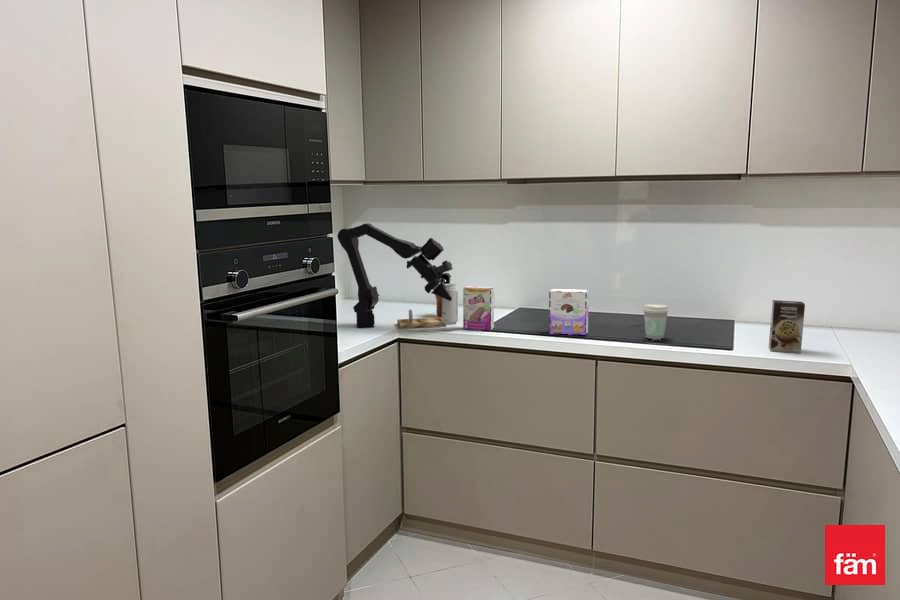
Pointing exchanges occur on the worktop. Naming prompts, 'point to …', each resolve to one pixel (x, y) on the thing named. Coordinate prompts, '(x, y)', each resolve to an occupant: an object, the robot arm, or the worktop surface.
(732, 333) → the worktop surface
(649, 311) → the coffee cup
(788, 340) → the brown cookie box
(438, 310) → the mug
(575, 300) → the candy box
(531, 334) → the worktop surface
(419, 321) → the rack
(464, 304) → the candy bar box
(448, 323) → the energy drink can
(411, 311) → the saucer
